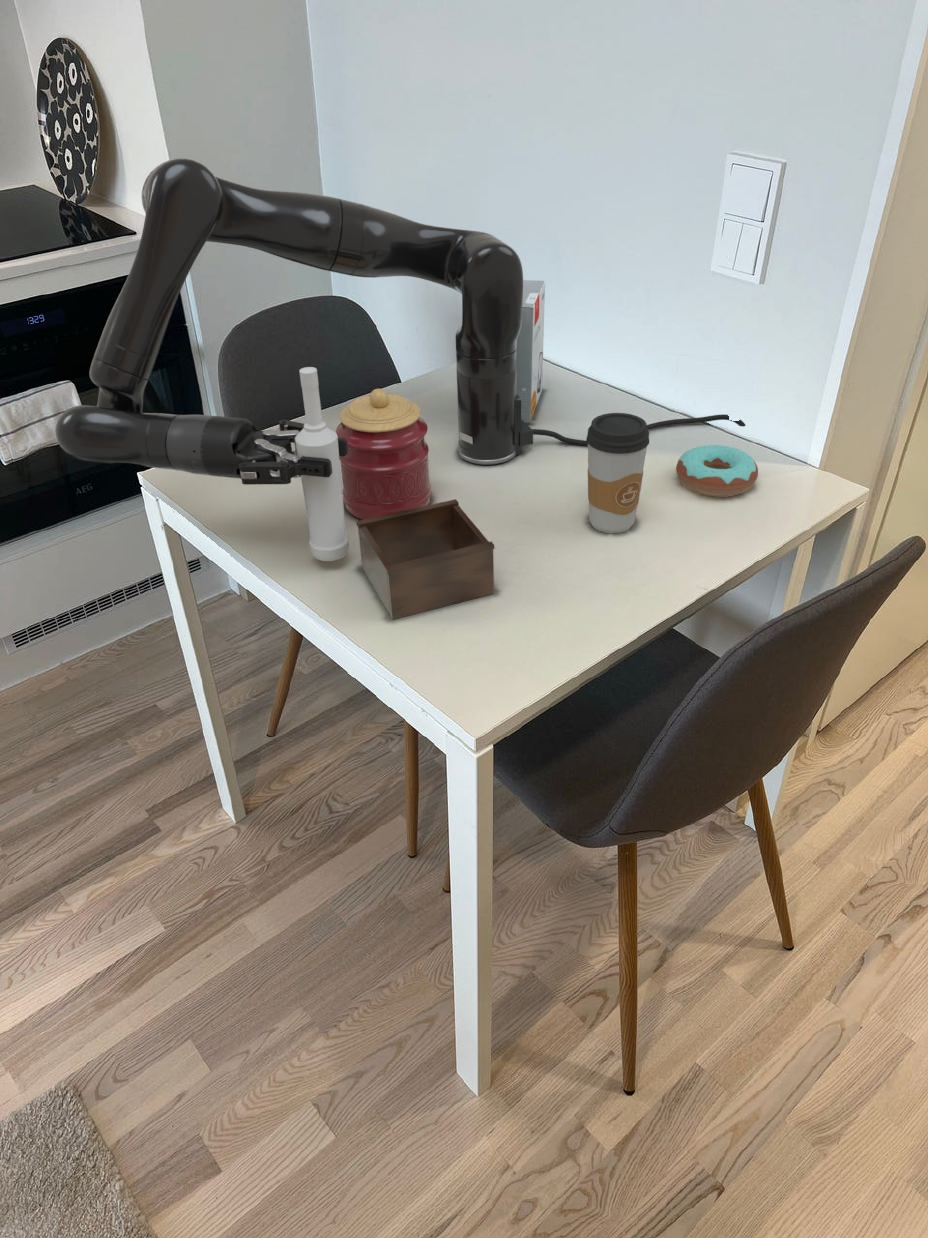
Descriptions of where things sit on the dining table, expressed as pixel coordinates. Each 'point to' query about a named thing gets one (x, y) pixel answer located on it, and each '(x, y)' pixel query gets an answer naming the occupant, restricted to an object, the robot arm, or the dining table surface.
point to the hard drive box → (530, 348)
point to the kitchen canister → (383, 455)
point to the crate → (426, 558)
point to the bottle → (321, 491)
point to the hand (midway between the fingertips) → (338, 457)
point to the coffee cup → (615, 470)
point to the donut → (717, 470)
